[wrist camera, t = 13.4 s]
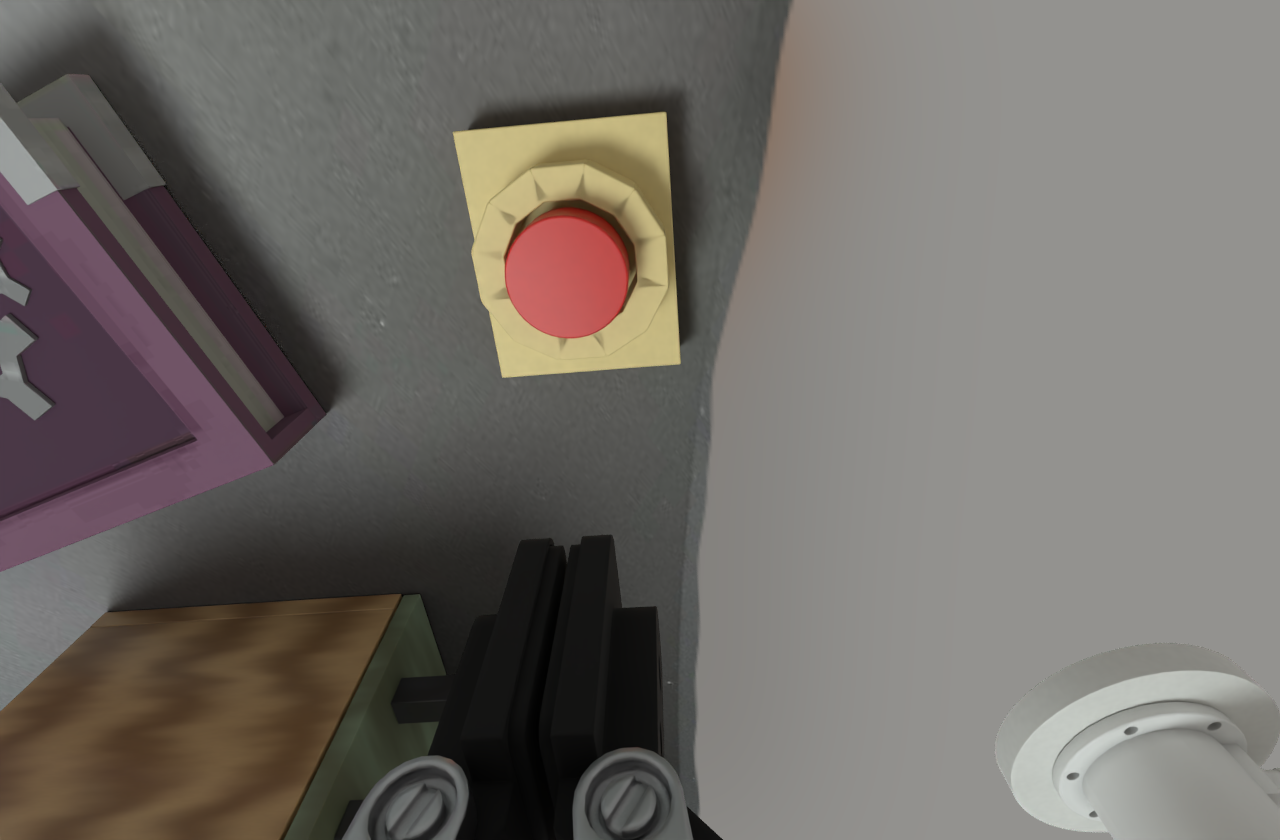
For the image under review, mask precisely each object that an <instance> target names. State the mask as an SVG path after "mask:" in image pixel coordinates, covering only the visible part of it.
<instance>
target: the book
mask: <svg viewBox="0 0 1280 840" xmlns="http://www.w3.org/2000/svg"><path fill="white" fill-rule="evenodd" d="M164 185H166V183H165V182H164V180H163V179H162V177H161V176H160V175H159V173H158V172H157V170H156V169H155V167H154V166H153V165H152V163H151V162H150V160H149V159H148V158H147V156H146V155H145V153H144V152H143V151H142V149H141V148H140V146H139V145H138V144H137V142H136V141H135V139H134V138H133V137H132V135H131V134H130V132H129V131H128V129H127V128H126V127H125V125H124V124H123V122H122V121H121V120H120V118H119V117H118V115H117V114H116V113H115V111H114V110H113V108H112V107H111V106H110V104H109V103H108V101H107V100H106V99H105V97H104V96H103V94H102V93H101V91H100V90H99V89H98V87H97V86H96V84H95V83H94V82H93V80H92V79H91V77H90V76H89V75H82V74H66V75H64V76H63V77H61V78H59V79H57V80H56V81H54V82H52V83H50V84H49V85H47V86H45V87H43V88H41V89H40V90H38V91H36V92H34V93H33V94H31V95H29V96H27V97H26V98H24V99H22V100H20V101H18V102H17V103H16V102H15V101H14V99H13V98H12V97H11V96H10V94H9V93H8V92H7V90H6V89H5V88H4V87H3V85H2V84H1V83H0V572H1V571H4V570H6V569H9V568H11V567H14V566H16V565H19V564H22V563H24V562H27V561H29V560H32V559H34V558H37V557H39V556H42V555H45V554H47V553H50V552H52V551H55V550H57V549H60V548H62V547H65V546H68V545H70V544H73V543H75V542H78V541H80V540H83V539H86V538H88V537H91V536H93V535H96V534H98V533H101V532H103V531H106V530H109V529H111V528H114V527H116V526H119V525H121V524H124V523H126V522H129V521H132V520H134V519H137V518H139V517H142V516H144V515H147V514H149V513H152V512H155V511H157V510H160V509H162V508H165V507H167V506H170V505H173V504H175V503H178V502H180V501H183V500H185V499H188V498H190V497H193V496H196V495H198V494H201V493H203V492H206V491H208V490H211V489H213V488H216V487H219V486H221V485H224V484H226V483H229V482H231V481H234V480H236V479H239V478H242V477H244V476H247V475H249V474H252V473H254V472H257V471H260V470H262V469H265V468H267V467H270V466H272V465H274V464H275V463H276V462H278V461H279V460H280V459H281V458H282V457H283V456H284V455H285V454H286V453H287V452H288V451H289V450H290V449H291V448H292V447H293V446H294V445H295V444H296V443H297V442H298V441H299V440H300V439H301V438H302V437H303V436H305V435H306V434H307V433H308V432H309V431H310V430H311V429H312V428H313V427H314V426H315V425H316V424H317V423H318V422H319V421H320V420H321V419H322V418H323V417H324V416H325V415H326V413H325V412H324V410H323V409H322V407H321V406H320V405H319V403H318V402H317V400H316V399H315V398H314V396H313V395H312V393H311V392H310V391H309V389H308V388H307V386H306V385H305V384H304V382H303V381H302V379H301V378H300V377H299V375H298V374H297V372H296V371H295V370H294V368H293V367H292V365H291V364H290V363H289V361H288V360H287V358H286V357H285V356H284V354H283V353H282V351H281V350H280V349H279V347H278V346H277V344H276V343H275V342H274V340H273V339H272V337H271V336H270V335H269V333H268V332H267V330H266V329H265V328H264V326H263V325H262V323H261V322H260V320H259V319H258V318H257V316H256V315H255V313H254V312H253V311H252V309H251V308H250V306H249V305H248V304H247V302H246V301H245V299H244V298H243V297H242V295H241V294H240V292H239V291H238V290H237V288H236V287H235V285H234V284H233V283H232V281H231V280H230V278H229V277H228V276H227V274H226V273H225V271H224V270H223V269H222V267H221V266H220V264H219V263H218V262H217V260H216V259H215V257H214V256H213V255H212V253H211V252H210V250H209V249H208V248H207V246H206V245H205V243H204V242H203V241H202V239H201V238H200V236H199V235H198V234H197V232H196V231H195V229H194V228H193V227H192V225H191V224H190V222H189V221H188V220H187V218H186V217H185V215H184V214H183V213H182V211H181V210H180V208H179V207H178V206H177V204H176V203H175V201H174V200H173V199H172V197H171V196H170V194H169V193H168V192H167V190H166V189H165V187H164Z"/></svg>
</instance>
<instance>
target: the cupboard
mask: <svg viewBox="0 0 1280 840" xmlns="http://www.w3.org/2000/svg"><path fill="white" fill-rule="evenodd" d="M401 600H402V595H401V594H388V595H372V596H356V597H340V598H325V599H309V600H293V601H277V602H261V603H246V604H230V605H214V606H198V607H182V608H167V609H151V610H135V611H119V612H106V613H104V614H103V615H102V616H101V617H100V618H99V619H98V620H97V621H96V622H95V623H94V624H93V625H92V626H91V627H90V628H89V629H88V630H87V631H86V632H85V633H84V634H82V635H81V636H80V637H79V638H78V639H77V640H76V641H75V642H74V643H73V644H72V645H71V646H70V647H69V648H68V649H66V650H65V651H64V652H63V653H62V654H61V655H60V656H59V657H58V658H57V659H56V660H55V661H54V662H53V663H52V664H50V665H49V666H48V667H47V668H46V669H45V670H44V671H43V672H42V673H41V674H40V675H39V676H38V677H37V678H36V679H34V680H33V681H32V682H31V683H30V684H29V685H28V686H27V687H26V688H25V689H24V690H23V691H22V692H21V693H20V694H18V695H17V696H16V697H15V698H14V699H13V700H12V701H11V702H10V703H9V704H8V705H7V706H6V707H5V708H4V709H2V710H1V711H0V840H284V839H285V836H286V834H287V832H288V830H289V828H290V826H291V824H292V822H293V820H294V818H295V816H296V814H297V812H298V810H299V808H300V806H301V804H302V802H303V800H304V798H305V796H306V794H307V792H308V790H309V788H310V785H311V783H312V781H313V779H314V777H315V775H316V773H317V771H318V769H319V767H320V765H321V763H322V761H323V759H324V757H325V755H326V753H327V751H328V749H329V747H330V745H331V743H332V741H333V739H334V737H335V734H336V732H337V730H338V728H339V726H340V724H341V722H342V720H343V718H344V716H345V714H346V712H347V710H348V708H349V706H350V704H351V702H352V700H353V698H354V696H355V694H356V692H357V690H358V688H359V686H360V683H361V681H362V679H363V677H364V675H365V673H366V671H367V669H368V667H369V665H370V663H371V661H372V659H373V657H374V655H375V653H376V651H377V649H378V647H379V645H380V643H381V641H382V639H383V637H384V635H385V633H386V630H387V628H388V626H389V624H390V622H391V620H392V618H393V616H394V614H395V612H396V610H397V608H398V606H399V604H400V602H401Z"/></svg>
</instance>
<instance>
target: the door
mask: <svg viewBox="0 0 1280 840" xmlns="http://www.w3.org/2000/svg"><path fill="white" fill-rule="evenodd" d="M454 678H455V675H446V672H445V669H444V666H443V663H442V660H441V657H440V654H439V651H438V648H437V645H436V642H435V639H434V635H433V632H432V629H431V626H430V623H429V620H428V617H427V614H426V611H425V608H424V605H423V602H422V599H421V596H420V594H416V595H404V596H403V598H402V600H401V602H400V604H399V606H398V608H397V610H396V612H395V614H394V616H393V618H392V620H391V622H390V624H389V626H388V628H387V630H386V633H385V635H384V637H383V639H382V641H381V643H380V645H379V647H378V649H377V651H376V653H375V655H374V657H373V659H372V661H371V663H370V665H369V667H368V669H367V671H366V673H365V675H364V677H363V679H362V681H361V683H360V686H359V688H358V690H357V692H356V694H355V696H354V698H353V700H352V702H351V704H350V706H349V708H348V710H347V712H346V714H345V716H344V718H343V720H342V722H341V724H340V726H339V728H338V730H337V732H336V734H335V737H334V739H333V741H332V743H331V745H330V747H329V749H328V751H327V753H326V755H325V757H324V759H323V761H322V763H321V765H320V767H319V769H318V771H317V773H316V775H315V777H314V779H313V781H312V783H311V785H310V788H309V790H308V792H307V794H306V796H305V798H304V800H303V802H302V804H301V806H300V808H299V810H298V812H297V814H296V816H295V818H294V820H293V822H292V824H291V826H290V828H289V830H288V832H287V834H286V836H285V839H284V840H342V838H343V836H344V835H345V833H346V831H347V829H348V827H349V826H350V824H351V822H352V820H353V819H354V817H355V815H356V813H357V811H358V810H359V808H360V806H361V804H362V802H363V801H364V799H365V798H366V796H367V795H368V794H369V792H370V791H371V789H372V788H373V787H374V785H375V784H376V783H377V782H378V781H379V780H380V779H382V778H383V777H384V776H385V775H386V774H387V773H388V772H389V771H391V770H392V769H394V768H396V767H397V766H399V765H401V764H402V763H404V762H406V761H409V760H412V759H415V758H418V757H421V756H427V755H428V752H429V750H430V747H431V744H432V741H433V738H434V735H435V732H436V729H437V727H438V724H439V721H440V718H441V715H442V712H443V709H444V706H445V703H446V701H447V698H448V695H449V692H450V689H451V686H452V683H453V680H454Z"/></svg>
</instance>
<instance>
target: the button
mask: <svg viewBox="0 0 1280 840" xmlns="http://www.w3.org/2000/svg"><path fill="white" fill-rule="evenodd" d="M628 283H629V258H628V253H627V250H626V247H625V244H624V242H623V240H622V238H621V237H620V235H619V233H618V232H617V231H616V230H615V228H614V227H613V226H612V225H611V224H610V223H609V222H608V221H606V220H605V219H604V218H602V217H601V216H599V215H597V214H595V213H593V212H591V211H588V210H585V209H581V208H574V207H563V208H557V209H553V210H550V211H548V212H545V213H543V214H541V215H540V216H538V217H537V218H535V219H534V220H533V221H532V222H531V223H530V224H529V225H528V226H527V227H526V228H525V229H524V230H523V231H522V232H521V233H520V234H519V235H518V236H517V238H516V239H515V240H514V242H513V244H512V245H511V247H510V250H509V252H508V255H507V258H506V263H505V285H506V289H507V293H508V295H509V298H510V300H511V302H512V304H513V306H514V308H515V309H516V310H517V312H518V313H519V314H520V316H521V317H522V318H523V319H524V320H525V321H526V322H528V323H529V324H530V325H531V326H533V327H534V328H536V329H537V330H539V331H541V332H543V333H545V334H548V335H551V336H554V337H559V338H567V339H569V338H581V337H585V336H589V335H592V334H594V333H596V332H598V331H600V330H602V329H603V328H605V327H606V326H607V325H608V324H610V323H611V322H612V321H613V320H614V319H615V317H616V316H617V315H618V313H619V312H620V310H621V308H622V306H623V304H624V302H625V299H626V296H627V291H628Z"/></svg>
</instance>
